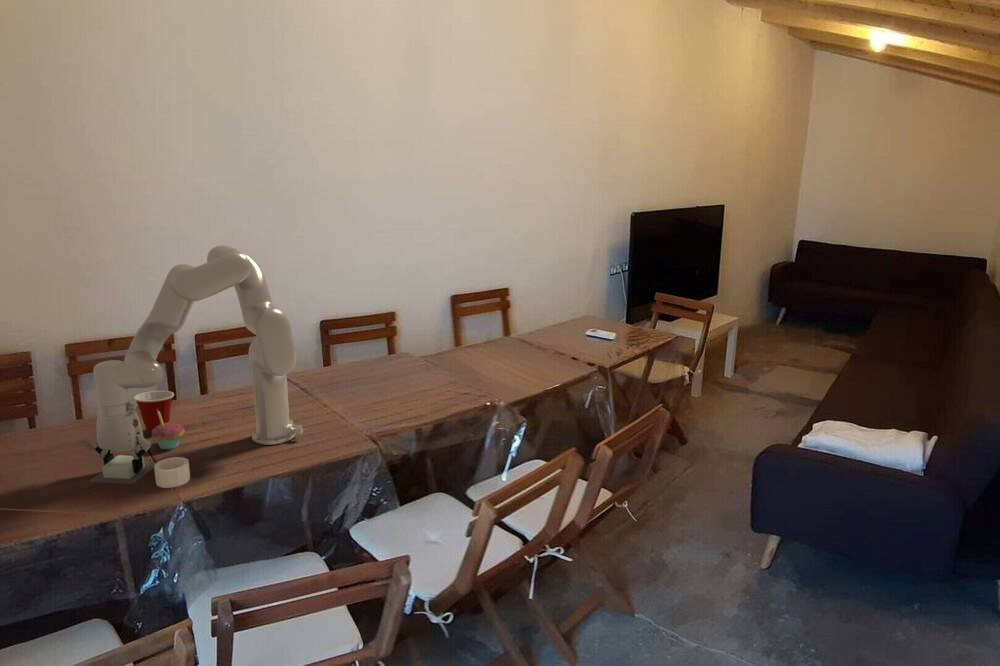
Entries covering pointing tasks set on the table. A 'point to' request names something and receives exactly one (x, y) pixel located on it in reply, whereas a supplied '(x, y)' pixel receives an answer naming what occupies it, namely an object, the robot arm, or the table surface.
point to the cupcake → (167, 434)
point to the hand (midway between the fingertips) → (124, 469)
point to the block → (120, 467)
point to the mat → (124, 481)
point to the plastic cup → (154, 407)
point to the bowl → (172, 472)
